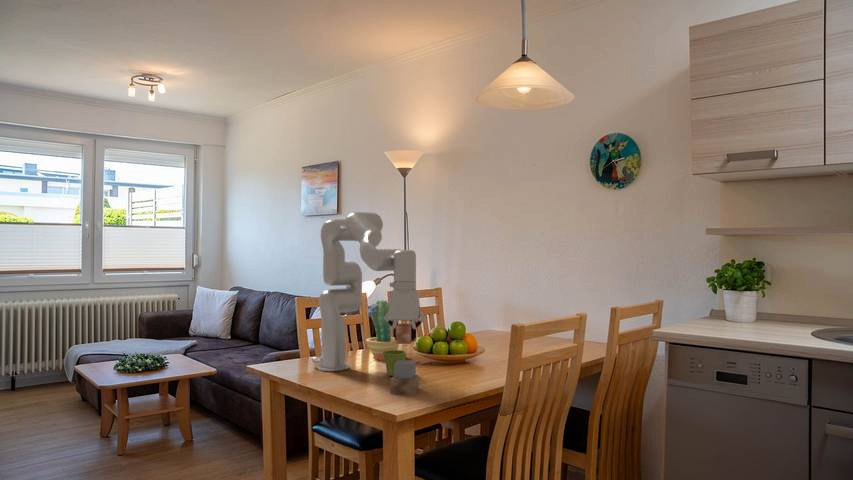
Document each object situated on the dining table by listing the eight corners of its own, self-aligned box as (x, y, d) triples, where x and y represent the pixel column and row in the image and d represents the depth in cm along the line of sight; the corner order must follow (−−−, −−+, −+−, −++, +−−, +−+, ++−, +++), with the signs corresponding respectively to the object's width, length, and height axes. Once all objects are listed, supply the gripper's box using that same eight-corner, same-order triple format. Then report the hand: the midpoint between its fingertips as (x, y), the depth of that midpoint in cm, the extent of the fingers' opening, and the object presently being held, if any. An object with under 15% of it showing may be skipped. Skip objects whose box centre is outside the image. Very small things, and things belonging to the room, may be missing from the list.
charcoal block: (394, 378, 196) (394, 363, 196) (398, 374, 202) (398, 360, 202) (411, 379, 194) (411, 364, 195) (415, 375, 200) (415, 360, 200)
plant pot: (388, 378, 216) (388, 355, 216) (378, 373, 224) (378, 351, 224) (411, 376, 220) (411, 352, 220) (400, 371, 229) (400, 349, 229)
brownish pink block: (395, 343, 196) (395, 325, 196) (399, 341, 201) (399, 323, 201) (410, 343, 195) (410, 325, 195) (413, 341, 200) (413, 323, 200)
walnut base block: (390, 394, 195) (390, 379, 195) (395, 388, 202) (395, 374, 202) (413, 395, 193) (413, 380, 193) (418, 389, 201) (418, 375, 201)
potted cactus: (370, 354, 265) (370, 298, 265) (403, 354, 263) (403, 299, 263) (361, 360, 250) (361, 302, 250) (397, 361, 247) (397, 302, 248)
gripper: (377, 286, 196) (377, 341, 196) (427, 287, 193) (427, 342, 193) (383, 285, 204) (383, 337, 203) (431, 285, 201) (431, 339, 200)
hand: (404, 339), depth 198 cm, fingers closed on brownish pink block, 4 cm apart
